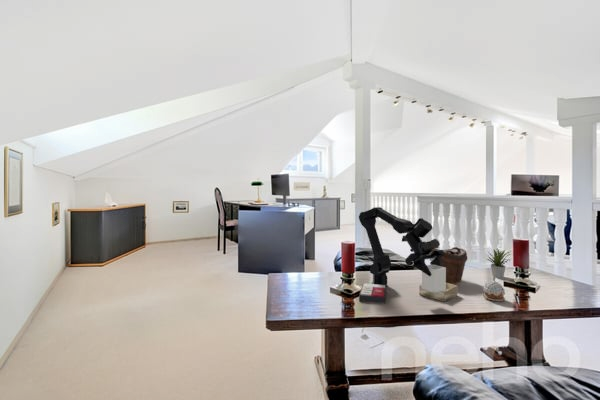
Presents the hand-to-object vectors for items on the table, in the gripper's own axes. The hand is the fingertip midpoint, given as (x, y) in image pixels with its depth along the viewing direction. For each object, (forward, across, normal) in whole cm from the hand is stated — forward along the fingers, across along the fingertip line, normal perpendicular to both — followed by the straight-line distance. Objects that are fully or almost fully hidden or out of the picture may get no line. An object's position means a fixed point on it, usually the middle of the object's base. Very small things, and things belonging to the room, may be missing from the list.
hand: (436, 274), depth 127 cm
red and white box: (-5, -16, +25) cm, 30 cm away
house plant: (0, +66, +19) cm, 69 cm away
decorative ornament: (+14, +29, +6) cm, 33 cm away
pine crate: (+3, +12, +16) cm, 20 cm away
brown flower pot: (-6, +36, +26) cm, 45 cm away
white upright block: (+4, 0, +6) cm, 7 cm away
